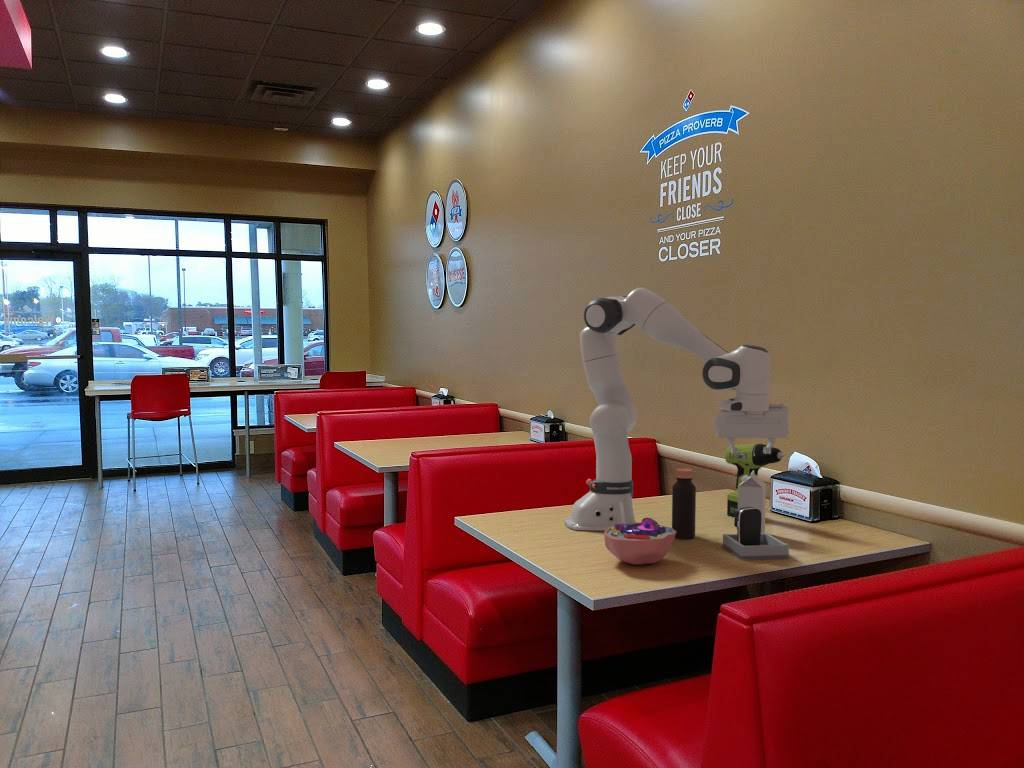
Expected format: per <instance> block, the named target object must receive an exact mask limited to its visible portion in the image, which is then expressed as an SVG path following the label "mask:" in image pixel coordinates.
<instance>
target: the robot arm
mask: <svg viewBox="0 0 1024 768" xmlns="http://www.w3.org/2000/svg"><path fill="white" fill-rule="evenodd" d="M583 320H584V323H585V325H586V326H585V327H584V328H583V329H582V330H581V331H580V335H579V343H580V347H579V348H580V352H581V353H580V354H581V359H582V364H583V368H584V373H585V376H586V382H587V386H588V387H589V389H590V391H591V392H592V394H593V396H594V398H595V401H596V403H597V405H598V406H596V407H595V408H594V410H593V411H592V413H591V414H590V416H589V421H588V422H589V427H590V429H591V431H592V437H593V441H594V448H595V456H596V460H595V461H596V462H595V463H596V464H595V465H596V466H595V467H596V468H595V471H596V472H595V474H596V477H595V479H593V480H592V478H588V479H587V480H586V482H585V484H586V485H587V486H588V487H589V491H588V492H587V493H586V494H584V495H583V496H581V498H579V499H577V500H576V501H575V502H574V504H573V506H572V510H571V516H567V517H565V518H564V525H565V526H566V527H567V528H568V529H571V530H573V531H597V532H598V531H600V532H601V531H603V532H605V531H606V530H607V529H608V528H609V527H611V526H614V525H615V524H622V523H637V521H636V518H635V513H634V508H633V497H634V496H633V495H634V480H633V479H632V472H633V471H632V467H633V465H632V461H633V458H632V453H631V450H630V445H629V437H628V433H629V432H630V431H632V429H634V427H635V425H636V424H637V421H638V410H637V408H636V407H635V405H634V403H633V400H632V397H631V395H630V393H629V390H628V388H627V386H626V383H625V379H624V377H623V373H622V369H621V365H620V360H619V356H618V352H617V348H616V340H615V339H616V337H617V335H618V336H621V335H623V334H624V333H626V332H627V331H629V330H631V329H632V328H633V327H635V326H637V327H638V328H639V329H640V330H641V331H642V332H644V333H645V334H646V335H647V336H648V337H650V338H651V339H653V341H656V342H657V343H659V344H662V345H666V346H671V347H677V348H681V349H683V350H686V351H688V352H691V353H692V354H693V355H695V356H696V357H697V358H698V359H700V360H701V361H703V363H704V365H703V367H702V371H701V373H702V374H701V375H702V379H703V382H704V383H705V385H706V386H707V387H708V388H710V389H712V390H716V391H730V390H733V391H734V390H735V391H736V392H735V396H733V397H730V398H727V399H724V400H721V401H719V402H718V404H717V405H718V409H720V410H719V411H717V413H716V415H715V420H714V431H713V432H714V434H715V436H717V438H720V439H722V438H724V439H725V438H726V442H727V443H728V445H729V446H730V447H731V450H730V452H731V454H738V448H737V447H735V446H734V445H735V444H734V442H735V440H736V438H737V439H739V438H741V439H749V438H750V439H751V438H752V439H754V438H755V439H756V438H759V439H763V438H764V439H765V438H766V439H767V441H768V442H767V444H766V445H767V446H766V447H763V453H764V454H771V448H772V447H774V444H775V443H776V439H777V438H779V439H780V438H781V439H785V438H787V437H788V436H789V420H788V418H789V408H788V407H787V406H785V405H784V404H782V403H781V404H780V403H779V404H776V403H775V404H774V403H770V398H771V394H770V388H769V385H770V381H771V373H772V372H771V369H772V368H771V356H770V353H769V350H767V349H766V348H764V347H762V346H757V345H752V344H742V345H740V346H739V347H737V348H736V349H734V350H733V351H727V350H726V349H724V348H723V347H721V346H720V345H719V344H718V343H716V342H715V341H713V340H712V339H711V338H710V337H708V336H706V335H705V334H704V333H703V332H701V330H699V329H698V328H697V327H696V326H694V325H693V324H692V323H691V322H690V321H688V319H686V317H684V316H683V314H682V313H680V312H679V310H677V309H676V308H675V307H674V306H673V305H671V303H669V302H668V301H667V300H665V299H664V298H663V297H661V296H660V295H658V294H657V293H655V292H653V291H651V290H650V289H648V288H645V287H637V288H634V289H633V290H631V291H630V292H629V293H628V295H626V296H624V295H622V296H619V295H610V296H607V297H606V296H605V297H599V298H596V299H593V300H591V301H590V302H588V304H587V305H586V306H585V308H584V311H583ZM729 446H728V447H729Z"/></svg>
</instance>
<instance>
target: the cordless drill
mask: <svg viewBox="0 0 1024 768" xmlns="http://www.w3.org/2000/svg"><path fill="white" fill-rule="evenodd" d="M734 446H735V447H737V448H738V454H731V452H730V450H731V447H730V446H728V447H727V448H726V450H725V455H724V457H725V459H724V460H725V461H726V463H727V464H729V465H733V466H735V467H736V468H737V473H736V484H735V490H734V491H731V492H729V493H728V494H727V503H726V505H727V510H726V512H727V513H726V515H728V516H727V517H730V516H731V517H732V518H734V517H735V512H736V510H737V509H738V486H739V485H740V484H741V483H742V482H743V481H742V480H741V478H742V477H743V476H745V475H747V476H748V477H750V476H751V473H752V471H753V470H754V474H755V475H756V476H757V477H758V473H759V471H760V470H761V468H763V467H765V466H767V465H769V464H775V463H778V462H780V461H782V459H783V458H784V457H786V456H787V455H786V454H783V452H782V451H781V449H779V448H776V447H774V446H772V448H771V454H764V453H763V447H766V446H767V444H764V443H746V444H734Z"/></svg>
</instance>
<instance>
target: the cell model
mask: <svg viewBox="0 0 1024 768" xmlns="http://www.w3.org/2000/svg"><path fill="white" fill-rule="evenodd" d="M675 535H676V530H674V529H672V527H669V526H664V525H661V524H659V523H658V522H657V521H656V520H655V519H653V518H651V517H644V518H643V519H642V520H641V522H636V523H622V524H615V525H614V526H611V527H609V528H608V529H607V530H606V531H603V537H604V538H603V540H604V546H605V548H606V549H607V551H609V553H611V554H612V555H613V556H614V557H615V558H616V559H618V560H619V561H621V562H624V563H628V564H631V565H638V566H639V565H643V564H645V565H648V564H656V563H658V562H660V561H661V560H662V559H663V558H664V557H665V556H666V555H667V554H668V552H669V551H671V548H672V547H673V544H674V541H675V539H676V538H675Z"/></svg>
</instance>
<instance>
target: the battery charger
mask: <svg viewBox="0 0 1024 768" xmlns="http://www.w3.org/2000/svg"><path fill="white" fill-rule="evenodd" d="M733 519H734V521H733V522H734V524H733V525H734V527H735V528H736V529H737V531H736V532H737V533H736V534H737V542H739V543H740V544H742V545H744V546H756V545H760V537H761V511H760V510H759V509H757V508H753V507H744V508H739V509H737V510H736V512H735V518H733Z"/></svg>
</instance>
